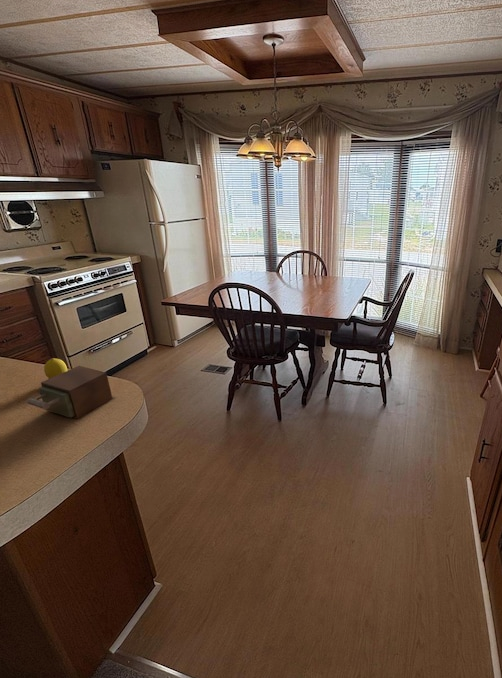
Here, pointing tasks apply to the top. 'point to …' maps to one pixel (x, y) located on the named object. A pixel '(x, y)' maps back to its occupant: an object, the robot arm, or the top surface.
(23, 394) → the top surface
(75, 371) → the cabinet
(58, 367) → the lemon
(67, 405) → the drawer
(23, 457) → the top surface
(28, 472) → the top surface
